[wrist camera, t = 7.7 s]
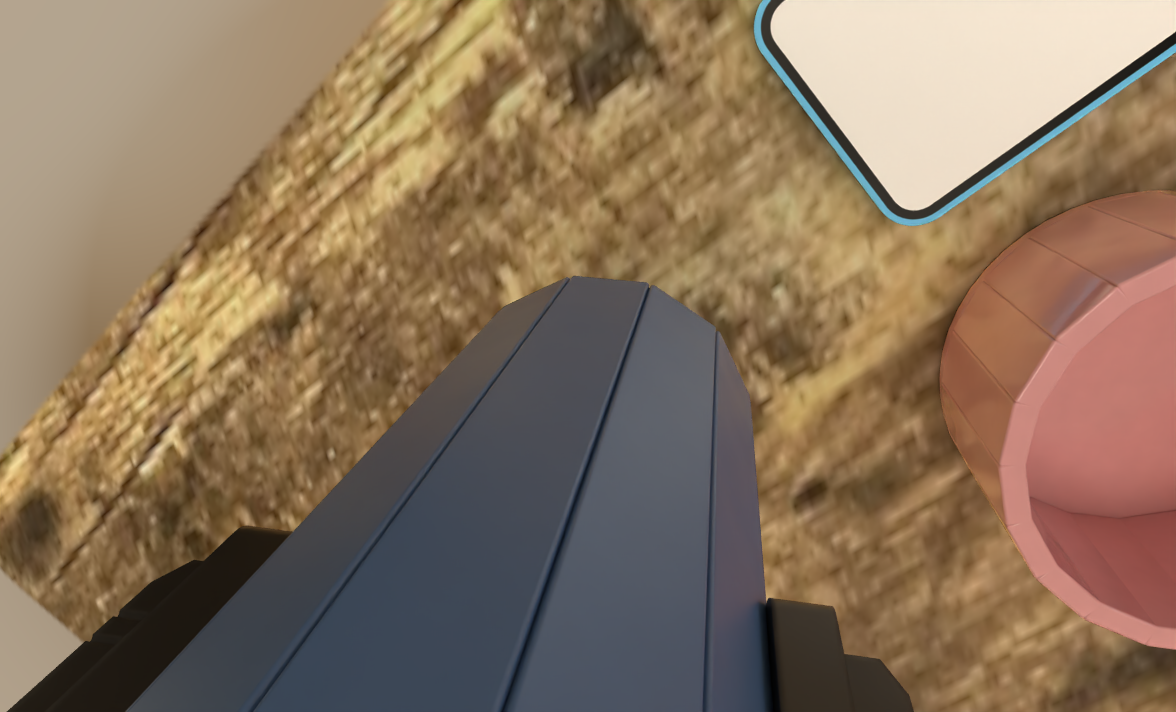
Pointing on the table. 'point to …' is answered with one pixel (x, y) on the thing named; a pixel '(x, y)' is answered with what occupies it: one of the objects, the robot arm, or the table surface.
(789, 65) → the smartphone
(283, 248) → the table surface
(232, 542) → the robot arm
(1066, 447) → the pink cup
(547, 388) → the blue cup
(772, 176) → the table surface
